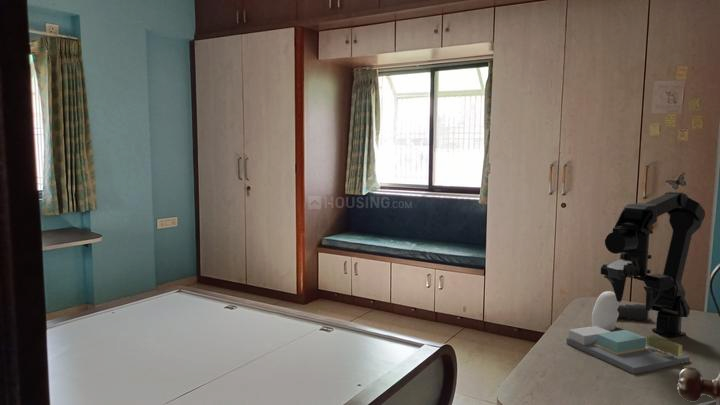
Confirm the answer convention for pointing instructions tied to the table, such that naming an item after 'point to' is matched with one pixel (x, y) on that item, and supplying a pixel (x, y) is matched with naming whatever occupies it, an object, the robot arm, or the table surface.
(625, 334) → the cover
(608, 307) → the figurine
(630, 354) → the panel
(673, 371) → the table surface
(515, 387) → the table surface
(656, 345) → the yellow rectangular block
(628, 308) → the flashlight
